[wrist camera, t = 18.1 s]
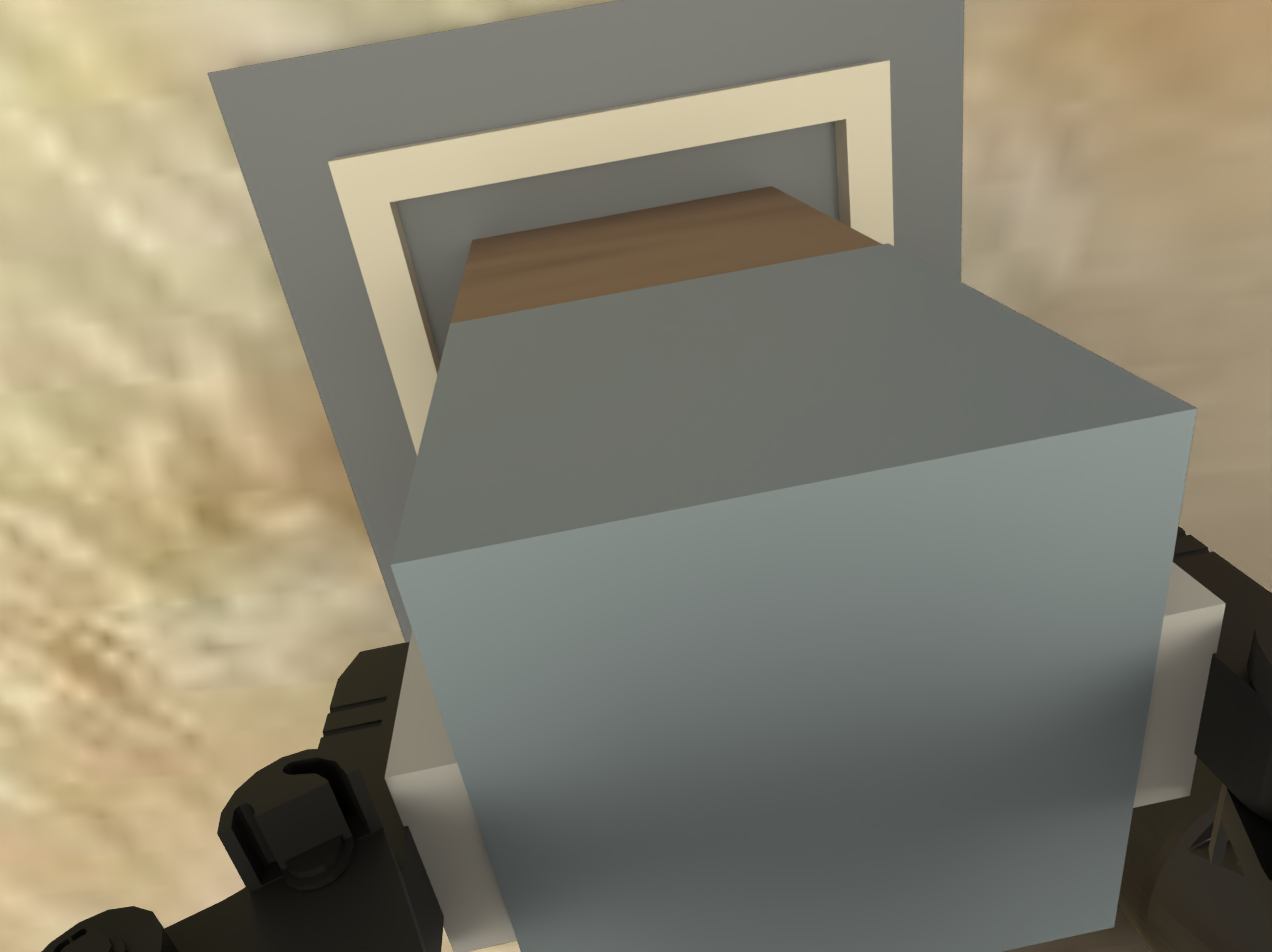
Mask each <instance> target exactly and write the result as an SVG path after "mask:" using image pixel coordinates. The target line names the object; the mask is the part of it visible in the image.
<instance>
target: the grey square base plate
mask: <svg viewBox="0 0 1272 952" xmlns="http://www.w3.org/2000/svg"><path fill="white" fill-rule="evenodd" d="M963 63H964V0H619V1H613V2H607V3H602V4H596V5H590V6H585V7H579V8H573V9H568V10H562V11H556V12H551V13H545V14H539V15H534V16H528V17H522V18H517V19H511V20H505V21H500V22H494V23H488V24H483V25H477V26H471V27H466V28H460V29H454V30H449V31H443V32H437V33H432V34H426V35H420V36H415V37H409V38H403V39H398V40H392V41H386V42H381V43H375V44H369V45H363V46H358V47H352V48H346V49H341V50H335V51H329V52H324V53H318V54H312V55H307V56H301V57H295V58H290V59H284V60H278V61H273V62H267V63H261V64H256V65H250V66H244V67H239V68H233V69H227V70H222V71H216V72H210V73H208V76H209V79H210V82H211V85H212V88H213V90H214V93H215V96H216V99H217V102H218V105H219V108H220V111H221V113H222V116H223V119H224V122H225V125H226V128H227V131H228V134H229V136H230V139H231V142H232V145H233V148H234V151H235V154H236V157H237V159H238V162H239V165H240V168H241V171H242V174H243V177H244V180H245V182H246V185H247V188H248V191H249V194H250V197H251V200H252V203H253V205H254V208H255V211H256V214H257V217H258V220H259V223H260V226H261V228H262V231H263V234H264V237H265V240H266V243H267V246H268V249H269V251H270V254H271V257H272V260H273V263H274V266H275V269H276V272H277V274H278V277H279V280H280V283H281V286H282V289H283V292H284V295H285V297H286V300H287V303H288V306H289V309H290V312H291V315H292V318H293V320H294V323H295V326H296V329H297V332H298V335H299V338H300V341H301V343H302V346H303V349H304V352H305V355H306V358H307V361H308V364H309V366H310V369H311V372H312V375H313V378H314V381H315V384H316V387H317V389H318V392H319V395H320V398H321V401H322V404H323V407H324V409H325V412H326V415H327V418H328V421H329V424H330V427H331V430H332V432H333V435H334V438H335V441H336V444H337V447H338V450H339V453H340V455H341V458H342V461H343V464H344V467H345V470H346V473H347V476H348V478H349V481H350V484H351V487H352V490H353V493H354V496H355V499H356V501H357V504H358V507H359V510H360V513H361V516H362V519H363V522H364V524H365V527H366V530H367V533H368V536H369V539H370V542H371V545H372V547H373V550H374V553H375V556H376V559H377V562H378V565H379V568H380V570H381V573H382V576H383V579H384V582H385V585H386V588H387V591H388V593H389V596H390V599H391V602H392V605H393V608H394V611H395V614H396V616H397V619H398V622H399V625H400V628H401V631H402V634H403V637H404V639H405V642H410V638H411V633H412V627H411V624H410V621H409V618H408V616H407V613H406V610H405V607H404V604H403V601H402V598H401V595H400V592H399V589H398V586H397V583H396V580H395V577H394V574H393V571H392V568H391V561H392V556H393V552H394V548H395V544H396V540H397V536H398V532H399V528H400V524H401V520H402V516H403V512H404V508H405V504H406V500H407V496H408V492H409V488H410V484H411V480H412V476H413V472H414V468H415V464H416V460H417V455H418V451H419V447H420V443H421V439H422V435H423V431H424V427H425V423H426V419H427V415H428V411H429V407H430V403H431V399H432V395H433V391H434V387H435V383H436V379H437V375H438V371H439V367H440V363H441V359H442V354H443V350H444V346H445V342H446V338H447V334H448V330H449V326H450V323H451V320H452V316H453V312H454V308H455V304H456V301H457V297H458V293H459V289H460V285H461V282H462V278H463V274H464V270H465V266H466V263H467V259H468V255H469V251H470V248H471V244H472V240H475V239H481V238H487V237H492V236H498V235H503V234H509V233H514V232H520V231H525V230H531V229H537V228H542V227H548V226H553V225H559V224H564V223H570V222H575V221H581V220H587V219H592V218H598V217H603V216H609V215H614V214H620V213H625V212H631V211H637V210H642V209H648V208H653V207H659V206H664V205H670V204H675V203H681V202H687V201H692V200H698V199H703V198H709V197H714V196H720V195H725V194H731V193H737V192H742V191H748V190H753V189H759V188H764V187H770V186H773V187H775V188H777V189H778V190H780V191H782V192H784V193H786V194H788V195H790V196H792V197H794V198H796V199H797V200H799V201H801V202H803V203H805V204H807V205H809V206H811V207H813V208H815V209H816V210H818V211H820V212H822V213H824V214H826V215H828V216H830V217H832V218H834V219H835V220H837V221H839V222H841V223H843V224H845V225H847V226H849V227H851V228H853V229H854V230H856V231H858V232H860V233H862V234H864V235H866V236H868V237H870V238H872V239H873V240H875V241H877V242H879V243H881V244H887V243H889V244H891V245H893V246H895V247H896V248H898V249H900V250H902V251H904V252H906V253H908V254H909V255H911V256H913V257H915V258H917V259H919V260H921V261H923V262H924V263H926V264H928V265H930V266H932V267H934V268H936V269H938V270H939V271H941V272H943V273H945V274H947V275H949V276H951V277H952V278H954V279H956V280H958V281H960V282H961V224H962V144H963Z"/></svg>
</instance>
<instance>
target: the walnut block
mask: <svg viewBox="0 0 1272 952" xmlns="http://www.w3.org/2000/svg"><path fill="white" fill-rule="evenodd" d="M876 245H882V244H881V243H879V242H877V241H875V240H873V239H872V238H870V237H868V236H866V235H864V234H862V233H860V232H858V231H856V230H854V229H853V228H851V227H849V226H847V225H845V224H843V223H841V222H839V221H837V220H835V219H834V218H832V217H830V216H828V215H826V214H824V213H822V212H820V211H818V210H816V209H815V208H813V207H811V206H809V205H807V204H805V203H803V202H801V201H799V200H797V199H796V198H794V197H792V196H790V195H788V194H786V193H784V192H782V191H780V190H778V189H777V188H775V187H773V186H770V187H764V188H759V189H753V190H748V191H742V192H737V193H731V194H725V195H720V196H714V197H709V198H703V199H698V200H692V201H687V202H681V203H675V204H670V205H664V206H659V207H653V208H648V209H642V210H637V211H631V212H625V213H620V214H614V215H609V216H603V217H598V218H592V219H587V220H581V221H575V222H570V223H564V224H559V225H553V226H548V227H542V228H537V229H531V230H525V231H520V232H514V233H509V234H503V235H498V236H492V237H487V238H481V239H475V240H472V244H471V248H470V251H469V255H468V259H467V263H466V266H465V270H464V274H463V278H462V282H461V285H460V289H459V293H458V297H457V301H456V304H455V308H454V312H453V316H452V320H451V323H457V322H462V321H468V320H473V319H479V318H484V317H489V316H495V315H500V314H506V313H511V312H517V311H522V310H528V309H533V308H538V307H544V306H549V305H555V304H560V303H566V302H571V301H577V300H582V299H587V298H593V297H598V296H604V295H609V294H615V293H620V292H626V291H631V290H636V289H642V288H647V287H653V286H658V285H664V284H669V283H675V282H680V281H685V280H691V279H696V278H702V277H707V276H713V275H718V274H724V273H729V272H735V271H740V270H745V269H751V268H756V267H762V266H767V265H773V264H778V263H784V262H789V261H794V260H800V259H805V258H811V257H816V256H822V255H827V254H833V253H838V252H843V251H849V250H854V249H860V248H865V247H871V246H876ZM451 323H450V324H451Z"/></svg>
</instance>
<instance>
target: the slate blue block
mask: <svg viewBox="0 0 1272 952" xmlns="http://www.w3.org/2000/svg"><path fill="white" fill-rule="evenodd" d="M1196 412H1197V408H1196V407H1194V406H1192V405H1190V404H1188V403H1186V402H1184V401H1182V400H1181V399H1179V398H1177V397H1175V396H1173V395H1171V394H1169V393H1167V392H1166V391H1164V390H1162V389H1160V388H1158V387H1156V386H1154V385H1153V384H1151V383H1149V382H1147V381H1145V380H1143V379H1141V378H1139V377H1138V376H1136V375H1134V374H1132V373H1130V372H1128V371H1126V370H1124V369H1123V368H1121V367H1119V366H1117V365H1115V364H1113V363H1111V362H1110V361H1108V360H1106V359H1104V358H1102V357H1100V356H1098V355H1096V354H1095V353H1093V352H1091V351H1089V350H1087V349H1085V348H1083V347H1081V346H1080V345H1078V344H1076V343H1074V342H1072V341H1070V340H1068V339H1067V338H1065V337H1063V336H1061V335H1059V334H1057V333H1055V332H1053V331H1052V330H1050V329H1048V328H1046V327H1044V326H1042V325H1040V324H1038V323H1037V322H1035V321H1033V320H1031V319H1029V318H1027V317H1025V316H1024V315H1022V314H1020V313H1018V312H1016V311H1014V310H1012V309H1010V308H1009V307H1007V306H1005V305H1003V304H1001V303H999V302H997V301H995V300H994V299H992V298H990V297H988V296H986V295H984V294H982V293H981V292H979V291H977V290H975V289H973V288H971V287H969V286H967V285H966V284H964V283H962V282H960V281H958V280H956V279H954V278H952V277H951V276H949V275H947V274H945V273H943V272H941V271H939V270H938V269H936V268H934V267H932V266H930V265H928V264H926V263H924V262H923V261H921V260H919V259H917V258H915V257H913V256H911V255H909V254H908V253H906V252H904V251H902V250H900V249H898V248H896V247H895V246H893V245H891V244H889V243H887V244H882V245H876V246H871V247H865V248H860V249H854V250H849V251H843V252H838V253H833V254H827V255H822V256H816V257H811V258H805V259H800V260H794V261H789V262H784V263H778V264H773V265H767V266H762V267H756V268H751V269H745V270H740V271H735V272H729V273H724V274H718V275H713V276H707V277H702V278H696V279H691V280H685V281H680V282H675V283H669V284H664V285H658V286H653V287H647V288H642V289H636V290H631V291H626V292H620V293H615V294H609V295H604V296H598V297H593V298H587V299H582V300H577V301H571V302H566V303H560V304H555V305H549V306H544V307H538V308H533V309H528V310H522V311H517V312H511V313H506V314H500V315H495V316H489V317H484V318H479V319H473V320H468V321H462V322H457V323H451V324H450V326H449V330H448V334H447V338H446V342H445V346H444V350H443V354H442V359H441V363H440V367H439V371H438V375H437V379H436V383H435V387H434V391H433V395H432V399H431V403H430V407H429V411H428V415H427V419H426V423H425V427H424V431H423V435H422V439H421V443H420V447H419V451H418V455H417V460H416V464H415V468H414V472H413V476H412V480H411V484H410V488H409V492H408V496H407V500H406V504H405V508H404V512H403V516H402V520H401V524H400V528H399V532H398V536H397V540H396V544H395V548H394V552H393V556H392V561H391V568H392V571H393V574H394V577H395V580H396V583H397V586H398V589H399V592H400V595H401V598H402V601H403V604H404V607H405V610H406V613H407V616H408V618H409V621H410V624H411V627H412V630H413V633H414V636H415V639H416V642H417V645H418V648H419V651H420V654H421V657H422V660H423V663H424V666H425V669H426V672H427V675H428V678H429V681H430V684H431V687H432V690H433V693H434V696H435V698H436V701H437V704H438V707H439V710H440V713H441V716H442V719H443V722H444V725H445V728H446V731H447V734H448V737H449V740H450V743H451V746H452V749H453V752H454V755H455V758H456V761H457V764H458V767H459V770H460V773H461V776H462V779H463V781H464V784H465V787H466V790H467V793H468V796H469V799H470V802H471V805H472V808H473V811H474V814H475V817H476V820H477V823H478V826H479V829H480V832H481V835H482V838H483V841H484V844H485V847H486V850H487V853H488V856H489V859H490V861H491V864H492V867H493V870H494V873H495V876H496V879H497V882H498V885H499V888H500V891H501V894H502V897H503V900H504V903H505V906H506V909H507V912H508V915H509V918H510V921H511V924H512V927H513V930H514V933H515V936H516V939H517V941H518V944H519V947H520V950H521V952H1003V951H1008V950H1012V949H1017V948H1022V947H1026V946H1031V945H1035V944H1040V943H1045V942H1049V941H1054V940H1058V939H1063V938H1067V937H1072V936H1077V935H1081V934H1086V933H1090V932H1095V931H1100V930H1104V929H1109V928H1113V927H1114V925H1115V919H1116V912H1117V906H1118V900H1119V893H1120V887H1121V881H1122V875H1123V868H1124V862H1125V856H1126V850H1127V843H1128V837H1129V831H1130V825H1131V818H1132V812H1133V806H1134V800H1135V793H1136V787H1137V781H1138V775H1139V768H1140V762H1141V756H1142V750H1143V743H1144V737H1145V731H1146V725H1147V718H1148V712H1149V706H1150V700H1151V693H1152V687H1153V681H1154V675H1155V668H1156V662H1157V656H1158V650H1159V643H1160V637H1161V631H1162V625H1163V618H1164V612H1165V606H1166V600H1167V593H1168V587H1169V581H1170V575H1171V568H1172V562H1173V556H1174V550H1175V543H1176V537H1177V531H1178V525H1179V518H1180V512H1181V506H1182V500H1183V493H1184V487H1185V481H1186V475H1187V468H1188V462H1189V456H1190V450H1191V443H1192V437H1193V431H1194V425H1195V418H1196Z"/></svg>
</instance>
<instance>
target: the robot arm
mask: <svg viewBox="0 0 1272 952" xmlns="http://www.w3.org/2000/svg"><path fill="white" fill-rule="evenodd" d="M323 735H324V736H323V737H322V738H321V740H320V743H319V747H318V749H308V750H304V751H301V752H298V753H295V754H292V755H289V756H285V757H282V758H280V759H278V760H277V761H275V762H273V763H271V764H270V765H268V766H266V767H264V768H263V769H261V770H259V771H258V772H256V773H255V774H254V775H253V776H252V777H250V778H249V779H248V780H247V781H246V782H245V783H244V784H243V785H242V786H240V787H239V788H238V789H237V790H236V791H235V792H234V794H233V795H232V797H231V798H230V800H229V802H228V803H227V805H226V806H225V808H224V809H223V811H222V812H221V816H220V822H219V827H218V832H217V834H218V836H219V838H220V840H221V841H222V843H223V845H224V847H225V849H226V851H227V852H228V854H229V856H230V858H231V860H232V862H233V864H234V865H235V867H236V869H237V871H238V873H239V875H240V876H241V878H242V880H243V882H244V884H245V886H246V887H245V888H244V889H242V890H241V891H239V892H237V893H235V894H234V895H232V896H230V897H228V898H227V899H225V900H223V901H221V902H219V903H217V904H215V905H213V906H211V907H209V908H207V909H204V910H202V911H200V912H198V913H196V914H194V915H192V916H190V917H188V918H186V919H184V920H181V921H179V922H177V923H175V924H173V925H171V926H169V927H167V928H165V929H164V928H163V926H162V925H161V923H160V922H159V920H158V919H157V918H156V916H155V915H154V913H153V912H152V911H148V910H145V909H141V908H138V907H135V906H131V907H125V908H118V909H111V910H107V911H104V912H102V913H100V914H98V915H95V916H93V917H91V918H88V919H86V920H84V921H82V922H79V923H78V924H76V925H75V926H73V927H72V928H71V929H69V930H68V931H66V932H65V933H64V934H62V935H61V936H59V937H58V938H56V939H55V940H54V941H52V942H51V943H50V944H49V945H48V946H47V947H46V948H45V949H44V950H43V951H42V952H441V946H442V934H443V926H444V929H445V931H446V934H447V936H448V939H449V941H450V944H451V946H452V949H453V951H454V952H468V951H473V950H477V949H482V948H486V947H491V946H496V945H500V944H505V943H509V942H514V941H517V939H516V936H515V933H514V930H513V927H512V924H511V921H510V918H509V915H508V912H507V909H506V906H505V903H504V900H503V897H502V894H501V891H500V888H499V885H498V882H497V879H496V876H495V873H494V870H493V867H492V864H491V861H490V859H489V856H488V853H487V850H486V847H485V844H484V841H483V838H482V835H481V832H480V829H479V826H478V823H477V820H476V817H475V814H474V811H473V808H472V805H471V802H470V799H469V796H468V793H467V790H466V787H465V784H464V781H463V779H462V776H461V773H460V770H459V767H458V764H457V761H456V758H455V755H454V752H453V749H452V746H451V743H450V740H449V737H448V734H447V731H446V728H445V725H444V722H443V719H442V716H441V713H440V710H439V707H438V704H437V701H436V698H435V696H434V693H433V690H432V687H431V684H430V681H429V678H428V675H427V672H426V669H425V666H424V663H423V660H422V657H421V654H420V651H419V648H418V645H417V642H416V639H415V636H414V633H413V630H412V633H411V638H410V642H406V643H402V644H397V645H392V646H387V647H382V648H377V649H372V650H367V651H362V652H360V653H359V654H358V655H357V656H356V658H355V659H354V660H353V661H352V663H351V664H350V665H349V666H348V668H347V669H346V670H345V671H344V673H343V674H342V675H341V676H340V678H339V679H338V681H337V684H336V688H335V691H334V695H333V698H332V702H331V705H330V713H329V714H328V715H327V719H326V722H325V726H324V729H323ZM1118 904H1119V906H1120V908H1121V909H1122V911H1123V912H1124V914H1125V915H1126V917H1127V918H1128V919H1129V921H1130V922H1131V924H1132V925H1133V926H1134V928H1135V929H1136V931H1137V932H1138V934H1139V935H1140V936H1141V938H1142V939H1143V941H1144V942H1145V944H1146V945H1147V946H1148V948H1149V949H1150V950H1151V952H1272V593H1270V592H1269V591H1268V590H1266V589H1265V588H1263V587H1262V586H1261V585H1259V584H1258V583H1256V582H1255V581H1254V580H1252V579H1251V578H1250V577H1248V576H1247V575H1245V574H1244V573H1243V572H1241V571H1240V570H1238V569H1237V568H1236V567H1234V566H1233V565H1232V564H1230V563H1229V562H1227V561H1226V560H1225V559H1223V558H1222V557H1220V556H1219V555H1218V554H1216V553H1215V552H1209V551H1208V547H1207V546H1205V545H1204V544H1202V543H1201V542H1200V541H1198V540H1197V539H1195V538H1194V537H1193V536H1191V535H1187V536H1186V534H1185V531H1184V530H1183V529H1182V528H1180V527H1179V526H1178V531H1177V537H1176V543H1175V550H1174V556H1173V562H1172V568H1171V575H1170V581H1169V587H1168V593H1167V600H1166V606H1165V612H1164V618H1163V625H1162V631H1161V637H1160V643H1159V650H1158V656H1157V662H1156V668H1155V675H1154V681H1153V687H1152V693H1151V700H1150V706H1149V712H1148V718H1147V725H1146V731H1145V737H1144V743H1143V750H1142V756H1141V762H1140V768H1139V775H1138V781H1137V787H1136V793H1135V800H1134V806H1133V812H1132V818H1131V825H1130V831H1129V837H1128V843H1127V850H1126V856H1125V862H1124V868H1123V875H1122V881H1121V887H1120V893H1119V900H1118Z"/></svg>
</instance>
